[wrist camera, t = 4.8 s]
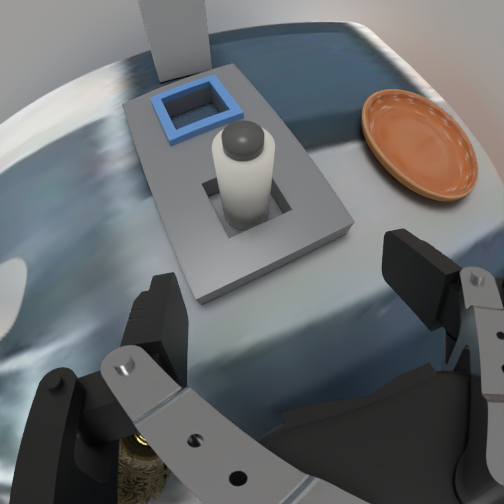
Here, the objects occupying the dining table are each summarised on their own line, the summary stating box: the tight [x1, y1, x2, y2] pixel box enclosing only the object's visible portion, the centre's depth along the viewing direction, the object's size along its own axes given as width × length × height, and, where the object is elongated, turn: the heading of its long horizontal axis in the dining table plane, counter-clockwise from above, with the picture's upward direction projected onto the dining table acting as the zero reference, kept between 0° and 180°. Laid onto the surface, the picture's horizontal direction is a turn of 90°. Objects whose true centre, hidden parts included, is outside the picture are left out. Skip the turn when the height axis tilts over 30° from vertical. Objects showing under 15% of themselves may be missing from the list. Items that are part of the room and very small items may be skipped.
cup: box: [118, 432, 170, 504], centre depth 16 cm, size 8×7×8 cm
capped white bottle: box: [212, 120, 275, 230], centre depth 21 cm, size 4×4×10 cm
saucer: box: [361, 89, 478, 201], centre depth 28 cm, size 16×16×3 cm
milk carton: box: [138, 0, 212, 82], centre depth 25 cm, size 7×7×19 cm
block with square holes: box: [122, 63, 354, 305], centre depth 26 cm, size 14×24×3 cm, turn 27°
